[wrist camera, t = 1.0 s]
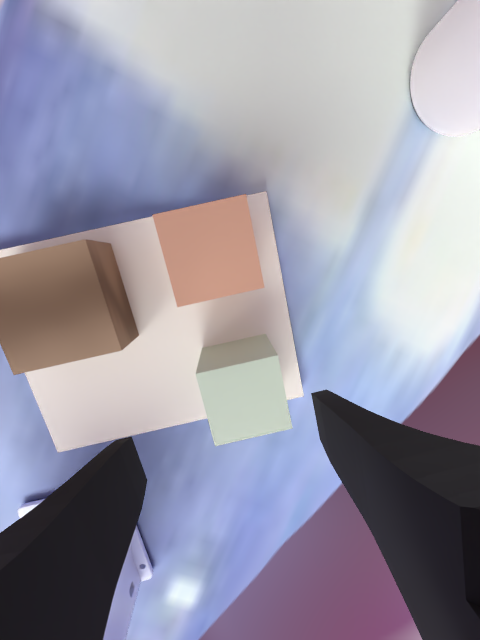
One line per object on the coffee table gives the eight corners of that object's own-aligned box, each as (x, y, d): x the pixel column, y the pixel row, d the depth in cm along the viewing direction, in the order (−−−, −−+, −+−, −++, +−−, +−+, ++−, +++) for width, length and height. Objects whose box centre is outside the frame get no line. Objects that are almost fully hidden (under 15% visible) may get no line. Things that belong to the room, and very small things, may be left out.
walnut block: (139, 335, 18) (121, 350, 15) (50, 355, 18) (13, 375, 15) (110, 243, 17) (85, 239, 14) (14, 264, 17) (-34, 265, 14)
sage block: (277, 391, 20) (292, 428, 15) (217, 405, 20) (215, 446, 15) (265, 333, 19) (277, 355, 14) (201, 347, 19) (195, 374, 14)
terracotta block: (254, 281, 18) (264, 287, 14) (188, 296, 18) (177, 307, 14) (240, 211, 17) (246, 193, 13) (170, 226, 17) (152, 214, 13)
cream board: (300, 389, 21) (303, 396, 20) (65, 443, 21) (58, 452, 20) (264, 195, 18) (266, 191, 17) (-11, 255, 18) (-25, 255, 17)
